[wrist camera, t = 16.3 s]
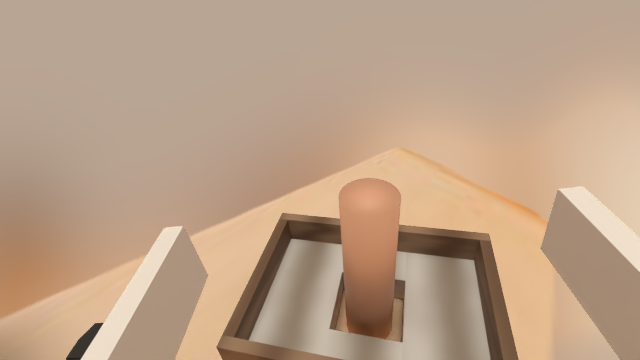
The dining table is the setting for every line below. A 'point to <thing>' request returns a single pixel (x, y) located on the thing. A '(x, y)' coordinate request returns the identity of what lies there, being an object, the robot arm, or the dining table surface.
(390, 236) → the peg
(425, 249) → the box
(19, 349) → the dining table surface
